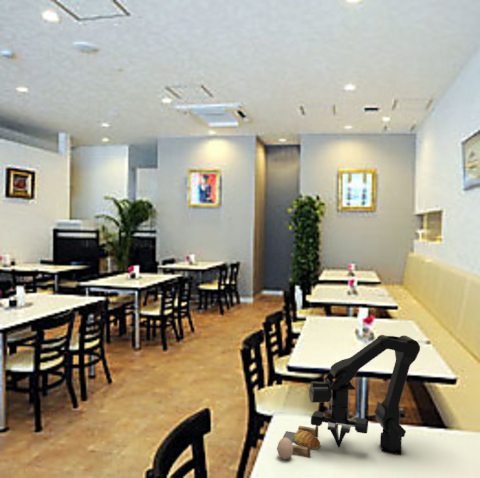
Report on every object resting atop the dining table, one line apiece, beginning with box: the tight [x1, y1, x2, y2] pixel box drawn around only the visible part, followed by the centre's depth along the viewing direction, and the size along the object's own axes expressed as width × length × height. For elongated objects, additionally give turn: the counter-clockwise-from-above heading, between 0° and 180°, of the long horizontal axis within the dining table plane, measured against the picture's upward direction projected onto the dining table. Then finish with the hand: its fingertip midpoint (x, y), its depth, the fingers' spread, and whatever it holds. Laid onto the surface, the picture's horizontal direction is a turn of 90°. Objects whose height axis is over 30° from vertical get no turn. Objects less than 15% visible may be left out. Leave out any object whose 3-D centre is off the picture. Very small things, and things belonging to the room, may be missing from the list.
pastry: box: [293, 430, 321, 450], centre depth 161 cm, size 9×7×4 cm
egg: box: [276, 437, 294, 460], centre depth 151 cm, size 5×5×7 cm
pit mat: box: [282, 430, 296, 444], centre depth 163 cm, size 4×14×1 cm, turn 161°
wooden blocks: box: [292, 425, 319, 458], centre depth 161 cm, size 7×17×4 cm, turn 161°
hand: (338, 446), depth 157 cm, fingers closed
